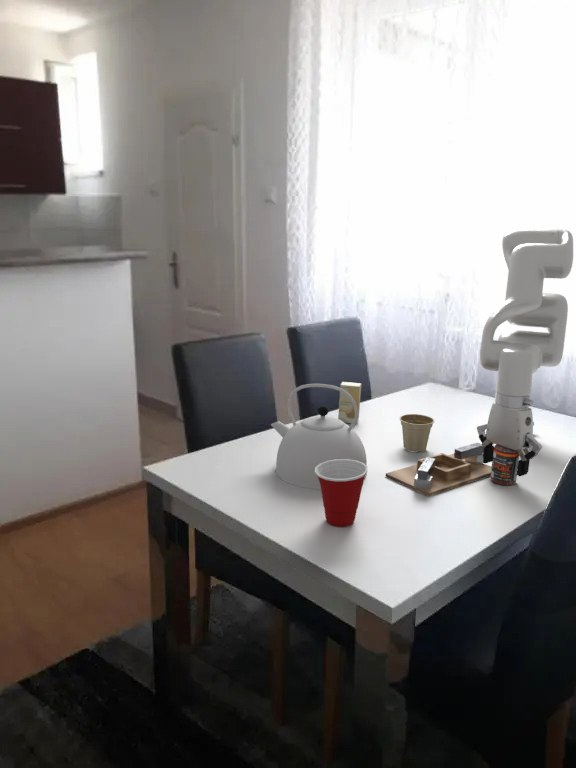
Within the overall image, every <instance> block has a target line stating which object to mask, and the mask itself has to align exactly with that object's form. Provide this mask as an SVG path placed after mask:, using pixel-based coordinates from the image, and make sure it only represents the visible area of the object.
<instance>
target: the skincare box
mask: <svg viewBox="0 0 576 768" xmlns="http://www.w3.org/2000/svg"><path fill="white" fill-rule="evenodd" d="M339 388H341V389H343V390H345V391H346V392H348V393H349V394H350V395H351V396H352V398H353V399H354V400H355V402H356V405H357V409H358V419H357V422H356V424H357V425H358V423H359V420H360V410H361V409H360V408H361V407H360V405H361V395H362V394H361V392H362V383H360V382H359V383H358V382H350V381H349V382H348V381H341V383H340V387H339ZM354 418H355V410H354V406H353V404H352V402H351V400H350V399H349V398H348V397H347V396H346V395H345V394H343V393H342V392H340V391H339V401H338V415H337V419H339V420H341V421H343V422H344V423H345V424H347V423H348V424H352V423H353V421H354ZM356 424H355V425H356Z"/></svg>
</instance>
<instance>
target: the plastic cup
mask: <svg viewBox="0 0 576 768" xmlns="http://www.w3.org/2000/svg"><path fill="white" fill-rule="evenodd" d="M368 471H369V469H368V465H367V466H366V465H365V464H364V463H362V462H359V461H356V460H349V459H336V460H330V461H326V462H323V463H320V464H319V465H318V466H316V467H315V473H316V474H317V476H318V479H319V482H320V486H321V490H320V491H321V498H322V504H323V507H324V508H323V509H324V516H325V520H326V522H327V524H328V525H331V526H332V527H337V528H346V527H350V526H352V525H353V524H354V522H355V520H356V516H357V511H358V508H359V503H360V499H361V493H362V489H363V485H364V480H365V479H366V478H365V475H366V473H368ZM364 478H365V479H364Z"/></svg>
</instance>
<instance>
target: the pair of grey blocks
mask: <svg viewBox="0 0 576 768" xmlns="http://www.w3.org/2000/svg"><path fill="white" fill-rule="evenodd" d="M483 451H484V447H483V446H482V443H481V442H474V443H471V444H467V445H464V446H461V447H460V446H459V447H457V448H454V452H453V454H454V457H455V458H457V459H460V460H462V459H465V461H467V462H469V463H472V464H474V465H479V464H482V463H483ZM427 457H428V456H426V457H425V458H426V459H425V460H424V462H423V463H422V465H421V466H420V468H419V469H418V474H417V475H416V476H415V478H414V488H417V489H422V490H428V491H429V490H430V488H431V487H432V477H433V476H430V474H431V473H432V471H433V470H434V468H435V459H433V458H427ZM483 464H484V463H483Z"/></svg>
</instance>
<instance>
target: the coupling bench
mask: <svg viewBox="0 0 576 768" xmlns="http://www.w3.org/2000/svg"><path fill="white" fill-rule="evenodd" d="M426 457H427V458H433V459H435V468H434V470H433V471H432V473H431V474H430V476H433V477H432V487H431V488H430V490H429V491H428V490H422V489H417V488H414V478H415V476H416V475H417V474H418V469H419V468H420V466H421V465H422V463H423V462H424V460H425V459H426ZM426 457H423V458H420V459H417V461H416V464H414V465H409V466H407V467H403V468H400V469H396V470H392V471H390V472H386V473H385V478H388V479H390V480H392V481H395V482H396V483H399V484H400V485H403V486H405V487H407V488H409V489H411V490H414V491H416V492H418V493H420V494H422V495H425V496H427V497H432V496H435V495H437V494H441V493H443V492H446V491H449V490H452V489H455V488H458V487H461V486H464V485H468V484H470V483H473V482H475V481H478V480H482V479H485V478H488V477H491V469H492V465H488V464H487V463H486V464H485V463H482V464H479V465H474V464H472V463H469V462H467V461H465V459H462V460H460V459H457V458H455V457H454V453H452V454H446V453H442V452H441V453H438V454H434V455H430V456H426Z"/></svg>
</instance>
